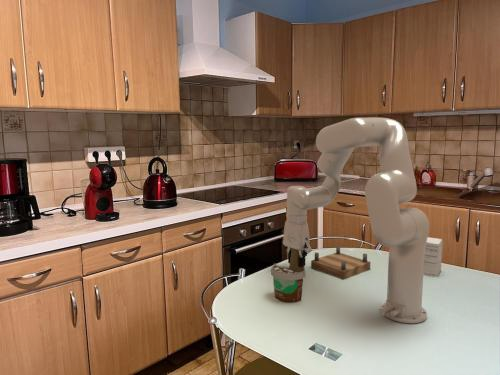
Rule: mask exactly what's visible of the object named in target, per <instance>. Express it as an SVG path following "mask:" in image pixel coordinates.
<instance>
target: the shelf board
mask: <svg viewBox="0 0 500 375" xmlns="http://www.w3.org/2000/svg"><path fill="white" fill-rule="evenodd" d="M335 249H336V250H335V252H333V253H331V254H328V255H325V256H321V257H320V252H314V259H311V261H310V264H311V265H310V267H311V269H313V270H316V271H319V272H322V273H325V274H327V275H330V276H333V277H336V278H338V279H341V280H346V279H349V278H351V277H354V276H357V275H360V274H362V273H365V272H367V271H369V270H371V261H369V260H368V253H363V254H362V258H360V257H359V258H358V257H356V256H355V257H354V256H352V255H348V254H346V253H345V254H344V253H342V252H341V246H340V245H336V248H335Z"/></svg>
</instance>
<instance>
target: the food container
mask: <svg viewBox="0 0 500 375" xmlns="http://www.w3.org/2000/svg"><path fill="white" fill-rule="evenodd" d="M270 275H271V276H272V280H273V282H272V283H273V292H274V298H275V299H276V300H277V301H279V302H281V303H282V302H283V303H287V304H289V303H290V304H291V303H297V302H301V301H302V296H303V295H302V294H303V286H304V279H306V274H305V270H304V271H302V272H296V271H293V270H291V269H289V267H288V268H287V267H281V266H278V265H277V263H273V265H272V266H271V268H270Z"/></svg>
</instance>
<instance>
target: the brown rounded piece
mask: <svg viewBox="0 0 500 375" xmlns="http://www.w3.org/2000/svg"><path fill="white" fill-rule="evenodd" d="M290 249H291V258H290V264H289V267H288V269H291V270H293V271H296V272H302V271H304V272H305V266H303V267H299V266H298V258H299V257H300V255H299V250H296V249H293V248H290ZM302 252H303V250H302Z"/></svg>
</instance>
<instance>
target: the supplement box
mask: <svg viewBox="0 0 500 375" xmlns="http://www.w3.org/2000/svg"><path fill="white" fill-rule="evenodd" d="M443 242H444V241H443V239H442V238H437V237H436V238H435V237H430V236H428V238H427V242H426V247H425V256H424V271H423V276H424V275H425V276H430V277H431V276H432V277H435V278H437V277H439V275H440V273H441V271H442V260H443V259H442V256H443Z"/></svg>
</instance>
